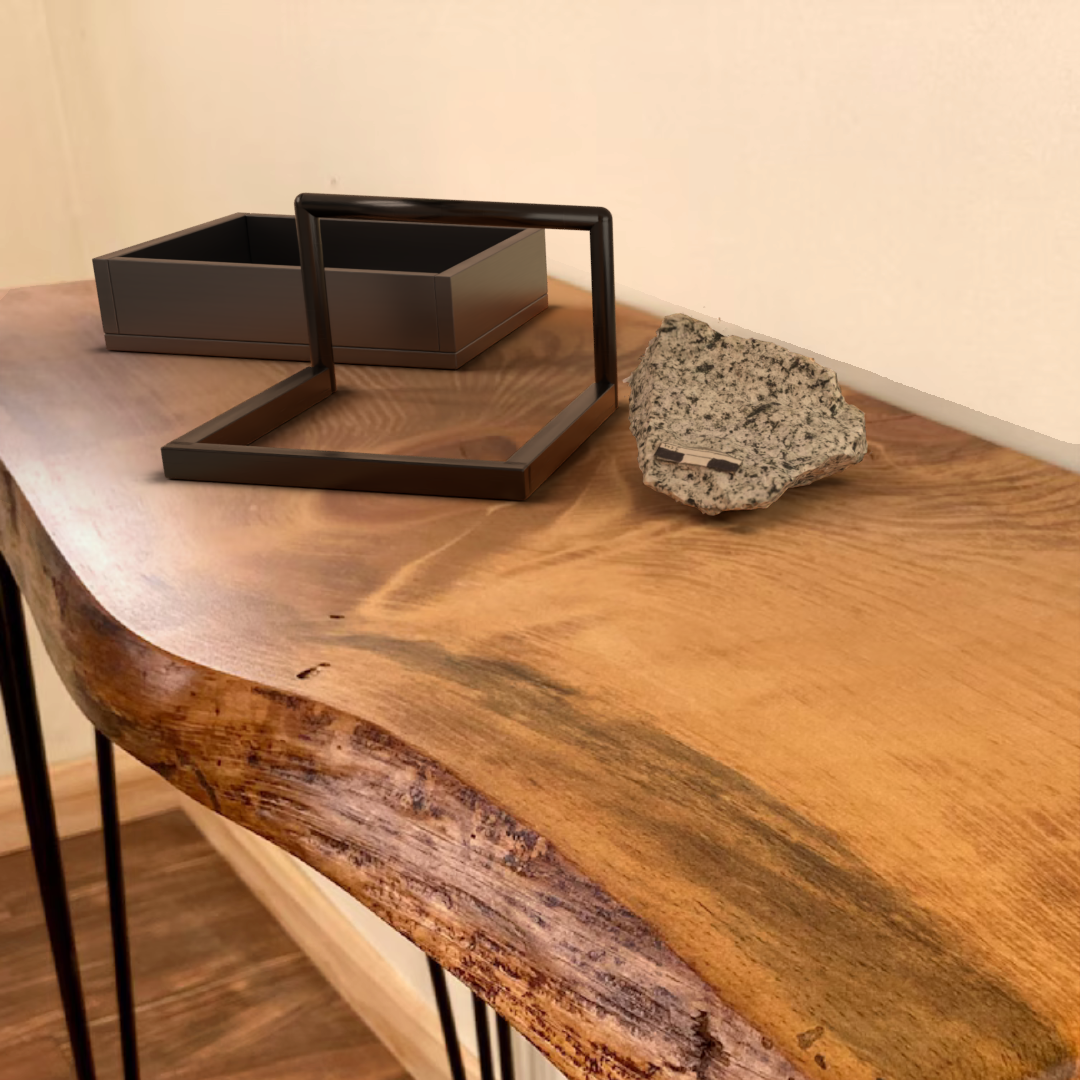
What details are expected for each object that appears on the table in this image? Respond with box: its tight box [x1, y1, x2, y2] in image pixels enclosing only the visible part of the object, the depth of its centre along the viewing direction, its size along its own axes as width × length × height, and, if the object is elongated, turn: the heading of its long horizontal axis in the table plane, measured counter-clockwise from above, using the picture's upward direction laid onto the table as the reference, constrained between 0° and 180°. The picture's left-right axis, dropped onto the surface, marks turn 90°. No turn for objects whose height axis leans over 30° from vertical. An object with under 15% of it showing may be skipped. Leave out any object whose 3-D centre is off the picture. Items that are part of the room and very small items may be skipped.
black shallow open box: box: [91, 212, 549, 370], centre depth 92 cm, size 18×17×4 cm
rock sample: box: [621, 306, 874, 516], centre depth 67 cm, size 10×8×9 cm
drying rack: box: [160, 192, 619, 501], centre depth 72 cm, size 14×16×8 cm
